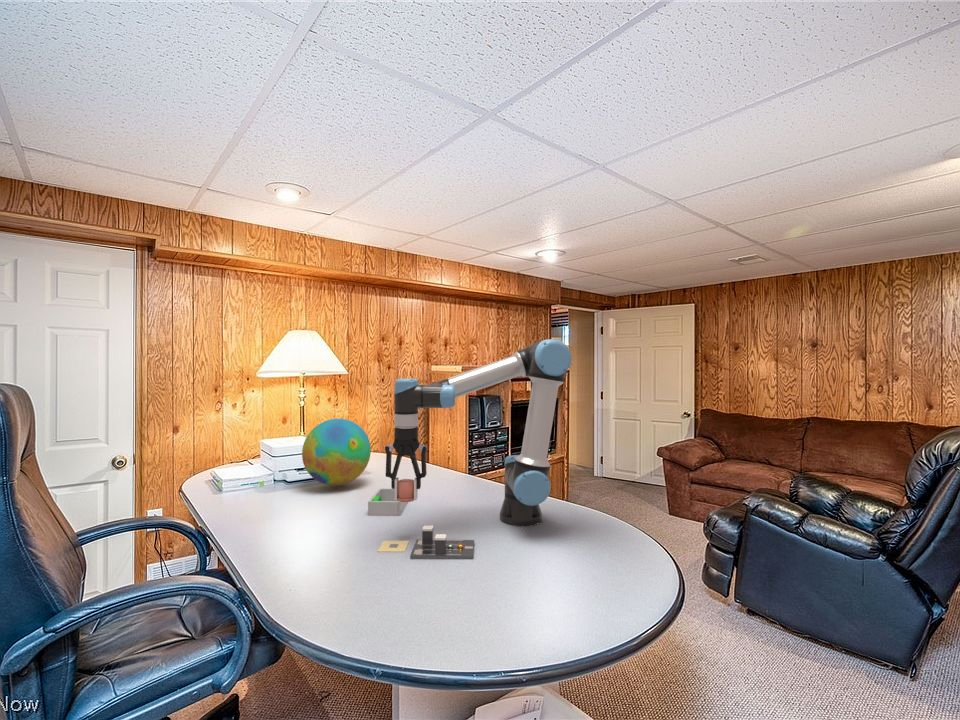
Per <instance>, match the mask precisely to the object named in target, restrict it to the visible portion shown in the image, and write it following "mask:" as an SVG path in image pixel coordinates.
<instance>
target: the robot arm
mask: <svg viewBox="0 0 960 720" xmlns="http://www.w3.org/2000/svg"><path fill="white" fill-rule="evenodd" d="M572 358H573V357H572V352H571V351H570V348H569V347H568V345H566V343H565V342H563V341H561V340H558V339H555V338H553V339H551V338H548V339H544V340H538V341H536V342H535V343H533V344H530V345H528V346H526V347H525V348H522V349H520V350H517V351H515V352H514V353H513V355H511V356H508V357H505V358H503V359H500V360H497V361H494V362H491V363H489V364H486V365H482V366H479V367H476V368H474V369H471V370H467V371H465V372H461V373H459V374H457V375H453V376H450V377H448V378H445V379H442V380H439V381H433V382H431V383H430V384H420V383H419V380H418V379H417V378H398V379H396V380H395V382H394V391H393V392H394V393H393V394H394V395H393V396H394V397H393V398H394V399H393V401H394V403H393V404H394V405H393V406H394V417H393V418H394V421H393V422H394V424H393V425H394V426H395V428H394V434H393V435H394V437H393V439H394V440H393V442H392V444H387V445H386V446H384V451H385V455H386V456H385V478H389V479H391V489H395V500H397V497H398V485H399V480H400V479H399V478H400V477H397V475H398V471H399V468H400V464H401V461H402V458H403V457H409V458H410V460H411V464H412V467H413V471H414V476H415V477H414V479H413V480H414V501H417V500H418V496H419V495H418V494H419V493H418V492H419V491H418V490H421V487H422V485H421V484H422V479H423V478H425V477H427V474H428V473H427V450H428V445H427V444H425V445H423V444H420V442H419V428H418V426H419V409H449V408H450V409H451V408H454V407H455V405H456V398H459V397H463V396H466V395H468V394H471V393H474V392H477V391H481V390H482V389H486V388H488V387H491V386H495V385H497V384H500V383H503V382H505V381H509V380H511V379H514V378H517V377H524V378H527V377H528V378H529V379H530V382H531V384H532V385H531V389H530V391H531V392H530V397H529V401H528V403H529V404H528V408H527V415H526V420H525V421H526V422H525V425H524V426H525V427H524V434H523V438H522V446H521V451H520V454H514V455H507V456H506V457H505V459H504V464H503V465H504V498H503V502H502V505H501V508H500V511H499V521H500V522H501V523H502V524H505V525H507V526H512V527H513V526H514V527H531V526H530V525H532V526H536V525H538V524H537V523H539V524H540V523H541V522H542V521H543V514H542V511H541V510H542V509H541V507H540V504H542V503H543V502H544V501H546V500H547V498H548V497H549V495H550V493H551V481H550V479H549V475H550V469H551V463H550V462H549V461H548V452H549V445H550V442H551V441H550V440H551V435H552V427H553V422H554V415H555V411H556V410H555V408H556V402H557V398H558V397H557V396H558V391H559V387H560V386H561V385H563V384H564V383H565V378H566V372H567V371H568V370H569V368H571V364H572ZM418 449H419V451H420V459H421V460H420V463H421V466H420V467H421V470H420V467H419V462H418V460H417V456H416V451H417V450H418ZM393 450H395V452H396V453H397V454H396V460H395V462H394V467H393V469H392V459H393V458H392V452H393ZM535 524H536V525H535Z"/></svg>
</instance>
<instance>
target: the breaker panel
mask: <svg viewBox="0 0 960 720" xmlns="http://www.w3.org/2000/svg"><path fill="white" fill-rule="evenodd" d="M474 552H475V539H446V554H435V539H433V543H432V544H422V538H421V539H420V538H419V539H416V540H415V543H414V545H413V548H412V550H411V553H410V555H409V559H410V560H474V555H475V554H474Z"/></svg>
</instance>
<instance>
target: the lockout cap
mask: <svg viewBox="0 0 960 720" xmlns="http://www.w3.org/2000/svg"><path fill="white" fill-rule="evenodd" d="M397 500H398V501H400V502H408V503H410V502H414V501H415V500H414V479H413V478H402V479H399V485H398V497H397Z"/></svg>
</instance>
